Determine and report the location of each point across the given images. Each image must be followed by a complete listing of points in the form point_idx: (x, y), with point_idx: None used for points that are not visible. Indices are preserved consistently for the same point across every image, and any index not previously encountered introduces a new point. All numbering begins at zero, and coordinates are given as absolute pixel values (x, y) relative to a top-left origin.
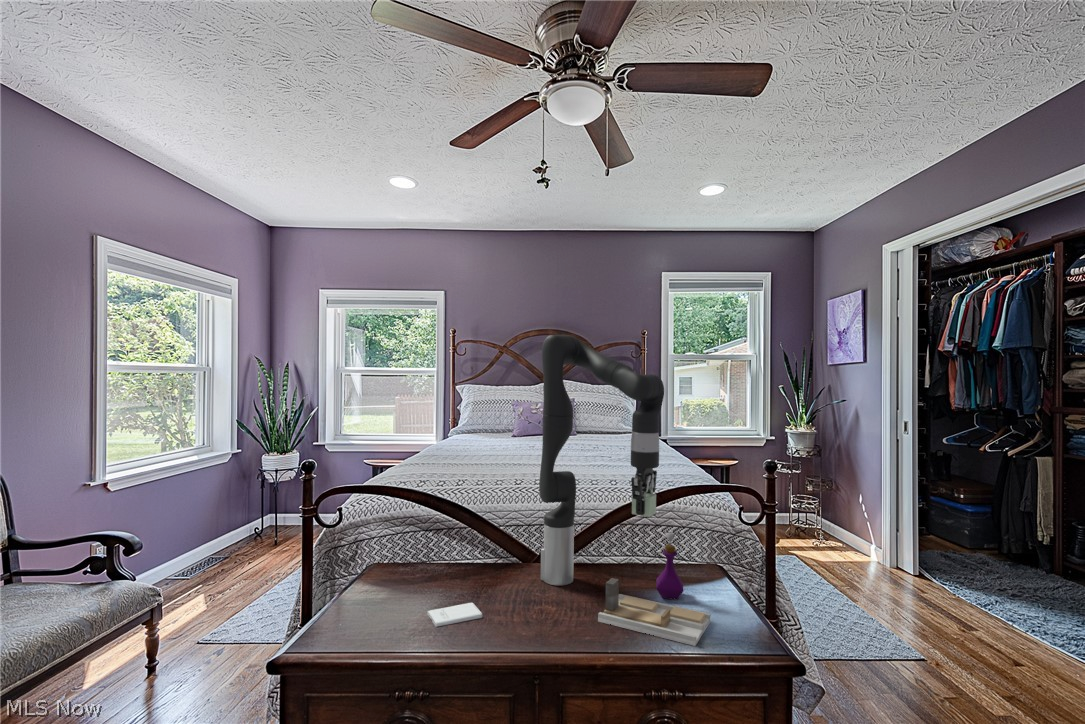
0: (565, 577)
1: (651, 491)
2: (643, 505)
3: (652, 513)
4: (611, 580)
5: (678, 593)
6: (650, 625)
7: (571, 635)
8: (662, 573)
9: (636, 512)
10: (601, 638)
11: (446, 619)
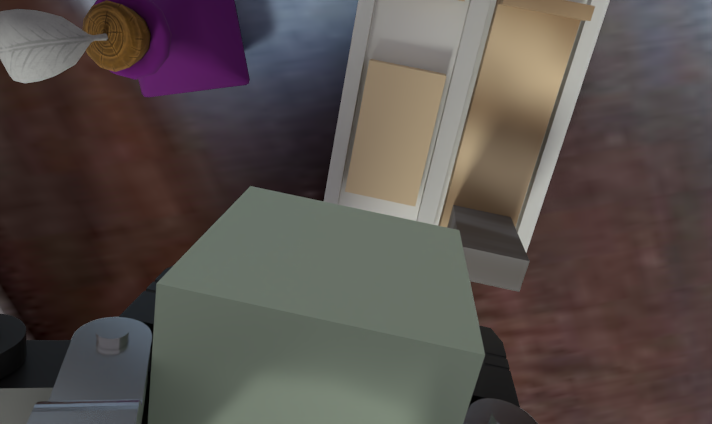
0: None
1: (138, 378)
2: (481, 366)
3: (369, 216)
4: (483, 273)
5: None
6: (580, 62)
7: (645, 307)
8: (166, 69)
9: None
10: (647, 217)
11: None
